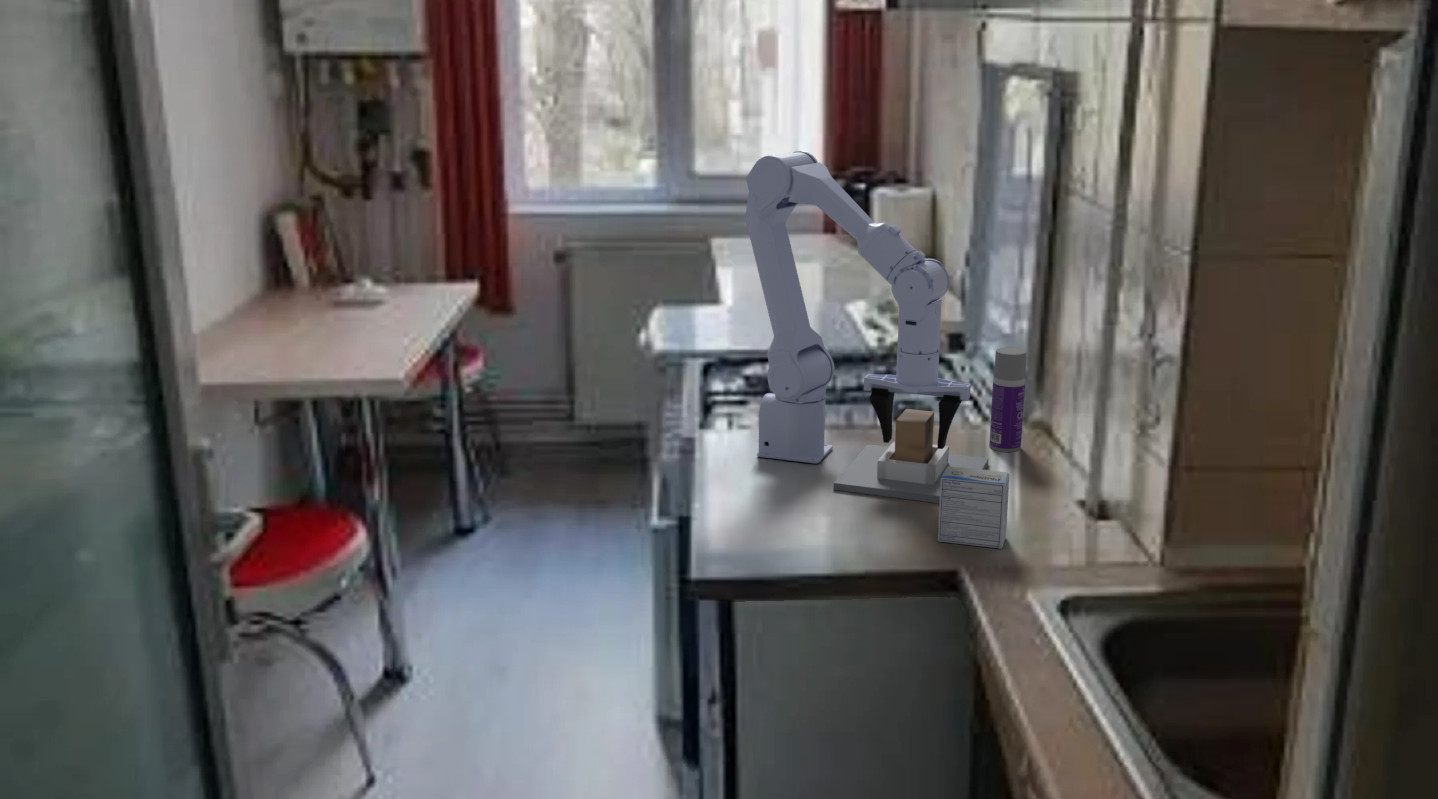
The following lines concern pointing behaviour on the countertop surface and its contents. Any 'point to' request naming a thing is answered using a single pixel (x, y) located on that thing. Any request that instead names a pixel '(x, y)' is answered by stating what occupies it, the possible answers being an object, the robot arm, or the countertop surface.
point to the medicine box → (973, 507)
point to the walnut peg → (914, 436)
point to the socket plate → (901, 473)
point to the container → (1008, 399)
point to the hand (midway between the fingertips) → (914, 443)
